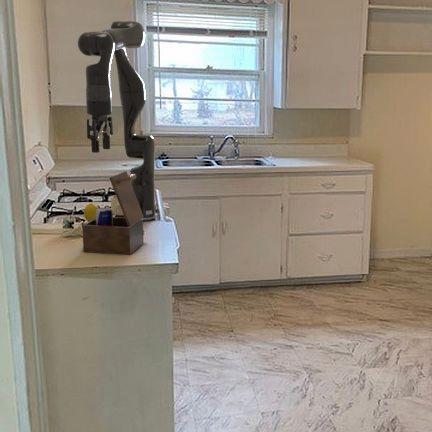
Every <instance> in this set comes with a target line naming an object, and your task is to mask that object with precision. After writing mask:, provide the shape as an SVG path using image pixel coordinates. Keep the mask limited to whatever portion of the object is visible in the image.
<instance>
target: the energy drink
mask: <svg viewBox="0 0 432 432" xmlns="http://www.w3.org/2000/svg"><path fill="white" fill-rule="evenodd" d="M95 213H96V225H97V226H113V217H114V214H113V211H112V209H111V207H98V209H96V212H95Z"/></svg>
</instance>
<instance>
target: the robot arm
mask: <svg viewBox="0 0 432 432" xmlns="http://www.w3.org/2000/svg"><path fill="white" fill-rule="evenodd" d="M145 40H146V34H145V29H144V26H143V25H142V23H140V22H139V21H135V20H134V21H131V20H130V21H129V20H128V21H127V20H126V21H125V20H115V21H113V22H112V23H111V25H110V28H107V29H103V30H100V31H85V32H82V33H81V34H80V35H79V36H78V39H77V48H78V51H79V52H80V53H81V54H82V55H84V56H86V57H100V58H99V60H98V61H97V63H92V64H88V65H87V66H86V67H85V83H86V85H85V86H86V87H85V100H86V114H87V115H89V116H90V115H91V118H87V119H86V138H87V139H88V140H89V141H90V142H91V143H90V144H91V153H95V154H97V153H100V137H102V139H101V140H102V149H103V150H110V149H111V137H112V136H113V135H114V128H113V117H112V116H110V115H112V114H113V105H112V103H113V102H112V90H111V78H110V77H111V76H110V75H111V74H110V73H111V72H110V71H111V64H112V59H113V55H114V59H115V65H116V72H117V80H118V81H117V82H118V93H119V100H120V106H121V113H122V121H123V122H122V123H123V125H122V126H123V145H124V146H123V147H124V151H125V155H126V157H127V158H129V159H137V160H143V162H142V163H141V164H140V165H138V166H134V167H132V168H130V169H129V175H131V174H135V175H136V178H135V179H133V180H131V181H130V182H131V185H132V187H133V190H134V192H135V195H136V198H137V200H138V203H139V206H140V208H141V211H142V213H143V216H144V217H143V218H142V219H143V222H147V221H153V220H155V219H156V213H157V212H158V211H159V209H158V208H157V204H156V197H155V196H156V195H155V194H156V193H155V192H156V191H155V162H156V161H155V160H156V142H155V139H154V136H152V135H150V134H149V135H147V134H136V124H137V121H138V118H139V116H140V115H141V113H142V111H143V109H144V107H145V105H146V101H147V100H146V99H147V98H146V89H145V83H144V81H143V79H142V78H141V76H140V75H139V74H138V71H136V69H135V68H134V66H133V65H132V64H131V62H130V60H129V58H128V55H127V52H126V49H139V48H141V47H142V46H143V45H144V43H145Z"/></svg>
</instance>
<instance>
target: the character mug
mask: <svg viewBox="0 0 432 432" xmlns="http://www.w3.org/2000/svg"><path fill="white" fill-rule="evenodd" d="M110 208H111V209H112V211H113V216H114V217H122V218H125V217H124V215H123V212H122V209H121V207H120V204H119V202H118V199H117V197H116V194H114V195H111V196H110Z"/></svg>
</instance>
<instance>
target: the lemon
mask: <svg viewBox="0 0 432 432" xmlns="http://www.w3.org/2000/svg"><path fill="white" fill-rule="evenodd" d="M98 208H99V207H98V206H97V205H96V204H94V203H91V202H90V203H88V204H87V205H86V206H85V207H84V208H83V209H84V210H83V217H84V219H85V221H86V222H89V221H91V220H93V219H94V218H96V213H95V212H96V209H98Z"/></svg>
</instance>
